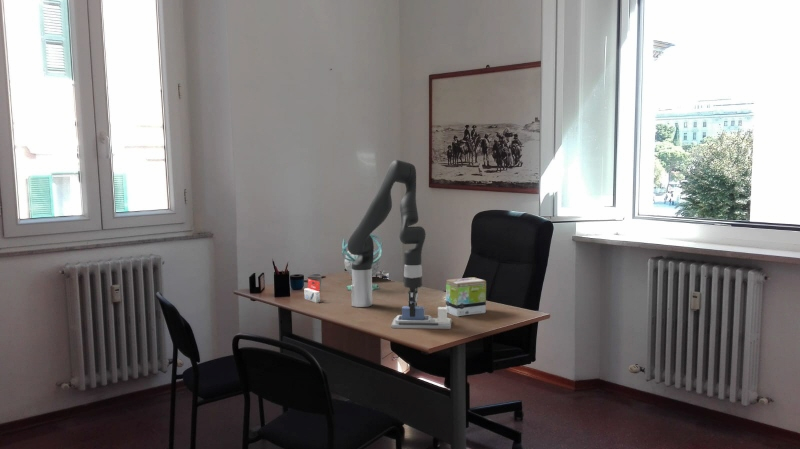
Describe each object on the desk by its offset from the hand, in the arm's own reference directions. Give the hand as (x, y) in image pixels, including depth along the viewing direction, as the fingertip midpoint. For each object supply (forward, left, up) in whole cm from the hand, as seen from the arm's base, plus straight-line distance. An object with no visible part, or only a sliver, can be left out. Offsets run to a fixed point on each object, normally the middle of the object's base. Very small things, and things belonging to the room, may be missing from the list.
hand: (413, 313), depth 270 cm
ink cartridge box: (-52, +42, -5) cm, 67 cm away
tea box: (+22, +21, -5) cm, 30 cm away
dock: (+4, 0, -4) cm, 6 cm away
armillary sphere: (-32, +72, -5) cm, 79 cm away
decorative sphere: (-36, +96, -5) cm, 103 cm away
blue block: (0, 0, -3) cm, 3 cm away
